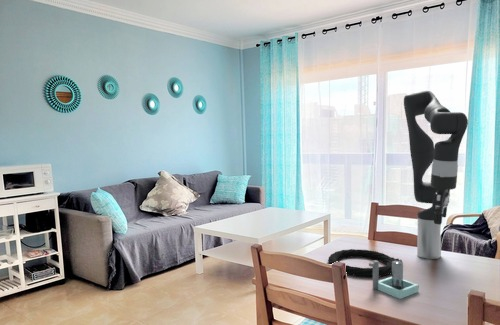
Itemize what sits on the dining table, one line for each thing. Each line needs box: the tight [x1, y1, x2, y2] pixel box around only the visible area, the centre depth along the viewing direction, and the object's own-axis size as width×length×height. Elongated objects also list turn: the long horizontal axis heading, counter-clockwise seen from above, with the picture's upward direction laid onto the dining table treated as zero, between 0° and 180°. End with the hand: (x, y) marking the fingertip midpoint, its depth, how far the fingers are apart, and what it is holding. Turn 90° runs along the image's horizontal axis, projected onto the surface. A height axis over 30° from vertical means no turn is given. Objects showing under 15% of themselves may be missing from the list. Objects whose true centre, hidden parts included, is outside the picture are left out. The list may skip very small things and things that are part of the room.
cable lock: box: [327, 248, 403, 278], centre depth 152 cm, size 28×4×30 cm
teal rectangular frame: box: [368, 259, 419, 300], centre depth 127 cm, size 13×11×10 cm
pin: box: [390, 261, 404, 290], centre depth 127 cm, size 5×5×10 cm
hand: (440, 220), depth 122 cm, fingers open, 8 cm apart
